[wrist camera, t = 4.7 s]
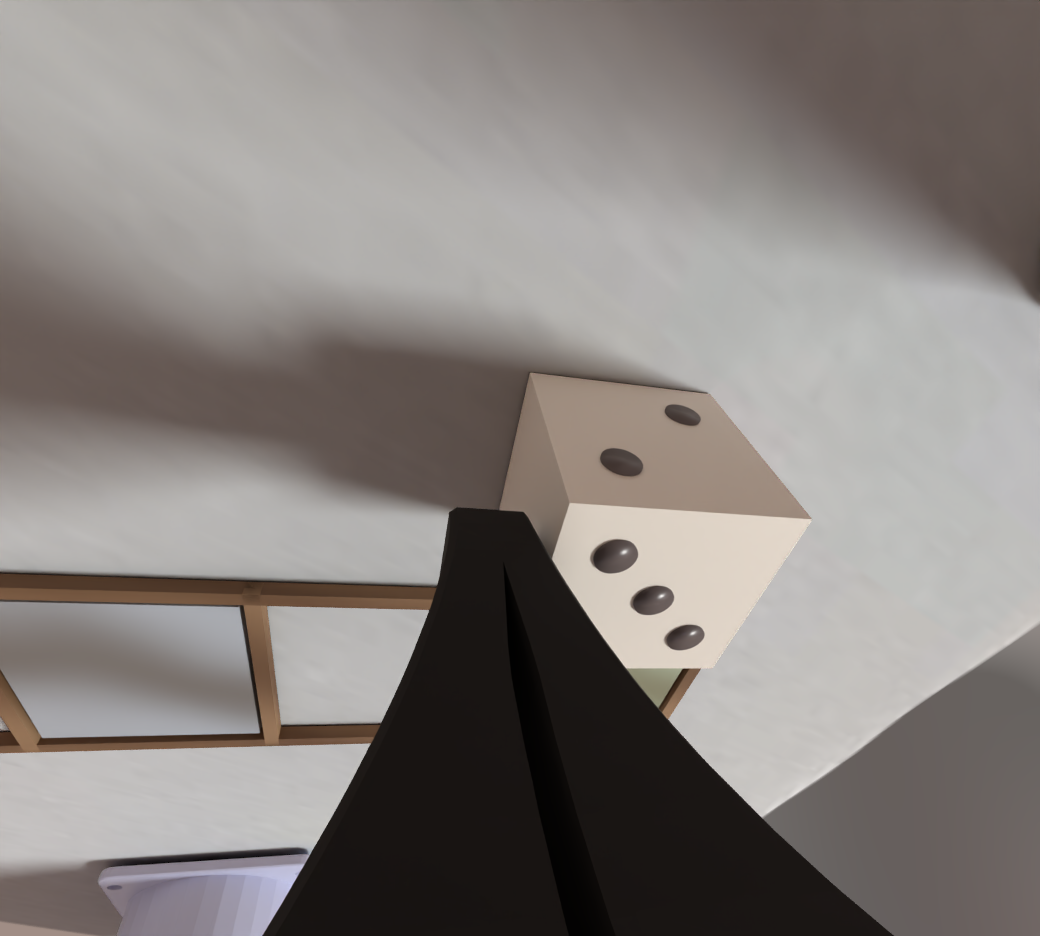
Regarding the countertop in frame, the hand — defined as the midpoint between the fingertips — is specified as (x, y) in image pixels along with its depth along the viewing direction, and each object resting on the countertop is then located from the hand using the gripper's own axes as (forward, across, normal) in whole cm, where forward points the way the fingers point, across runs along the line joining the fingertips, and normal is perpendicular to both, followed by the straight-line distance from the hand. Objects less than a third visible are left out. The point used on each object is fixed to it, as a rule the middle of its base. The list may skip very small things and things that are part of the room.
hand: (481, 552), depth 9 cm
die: (+3, -3, 0) cm, 4 cm away
